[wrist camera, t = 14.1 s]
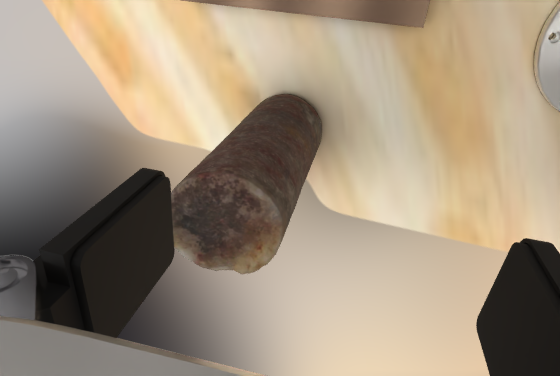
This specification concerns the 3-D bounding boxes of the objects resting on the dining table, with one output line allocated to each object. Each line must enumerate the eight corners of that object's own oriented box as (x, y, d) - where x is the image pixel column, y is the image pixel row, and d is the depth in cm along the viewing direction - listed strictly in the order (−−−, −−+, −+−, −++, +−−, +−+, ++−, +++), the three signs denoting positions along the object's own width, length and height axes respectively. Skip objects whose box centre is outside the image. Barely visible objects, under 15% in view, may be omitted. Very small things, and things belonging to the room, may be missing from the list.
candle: (264, 77, 38) (170, 157, 20) (335, 103, 37) (300, 207, 20) (245, 145, 41) (153, 261, 24) (309, 169, 41) (262, 304, 24)
